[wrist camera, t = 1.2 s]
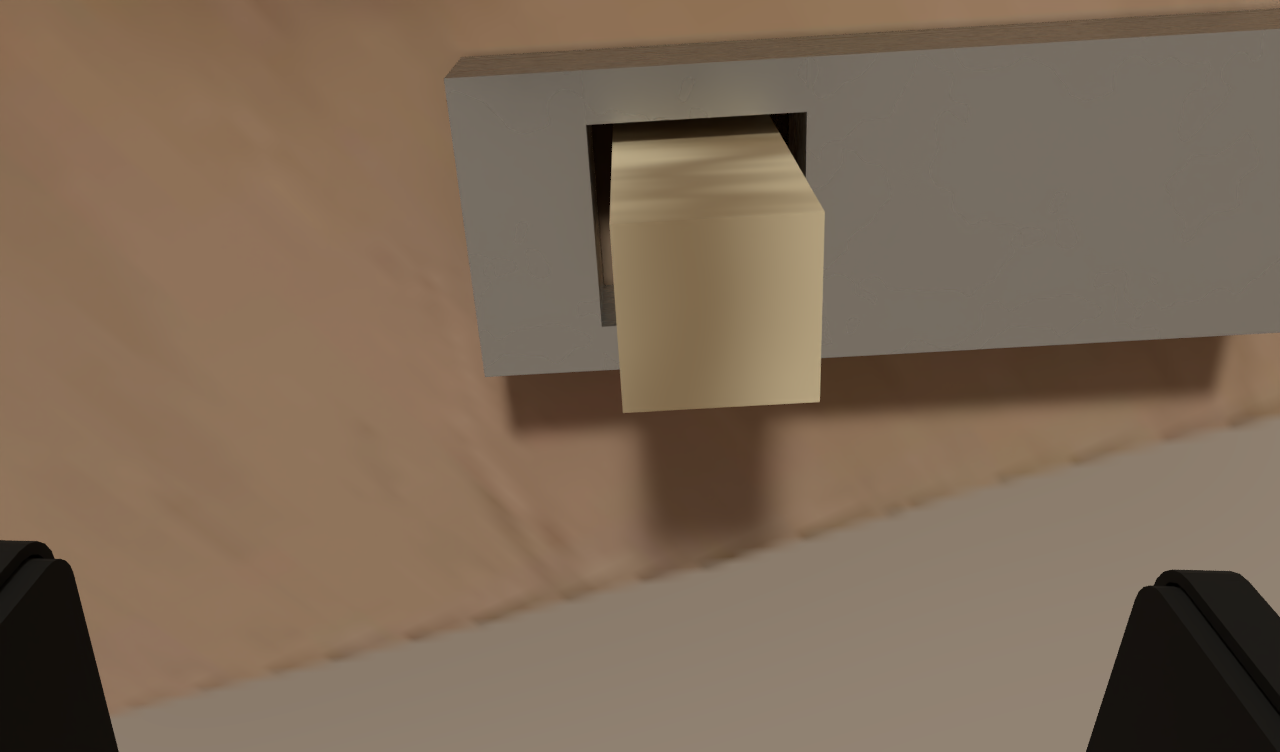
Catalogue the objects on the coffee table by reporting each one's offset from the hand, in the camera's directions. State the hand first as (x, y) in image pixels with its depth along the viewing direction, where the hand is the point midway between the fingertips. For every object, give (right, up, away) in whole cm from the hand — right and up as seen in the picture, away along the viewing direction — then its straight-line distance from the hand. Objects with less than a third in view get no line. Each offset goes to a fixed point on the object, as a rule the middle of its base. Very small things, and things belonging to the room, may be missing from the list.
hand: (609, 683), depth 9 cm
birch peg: (+2, +8, +20) cm, 21 cm away
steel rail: (+7, +8, +20) cm, 22 cm away
